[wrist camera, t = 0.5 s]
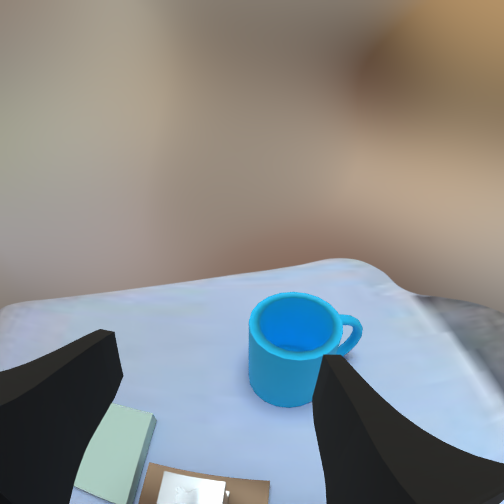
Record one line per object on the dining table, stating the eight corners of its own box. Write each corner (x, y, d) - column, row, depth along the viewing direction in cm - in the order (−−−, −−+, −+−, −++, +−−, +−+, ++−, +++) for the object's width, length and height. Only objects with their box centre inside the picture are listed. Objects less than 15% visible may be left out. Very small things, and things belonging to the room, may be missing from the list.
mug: (261, 416, 25) (265, 371, 20) (240, 354, 31) (238, 300, 27) (368, 382, 28) (394, 331, 23) (335, 331, 34) (350, 278, 30)
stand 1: (131, 509, 15) (125, 507, 14) (43, 469, 16) (35, 464, 15) (156, 420, 24) (152, 413, 23) (74, 395, 24) (68, 388, 24)
